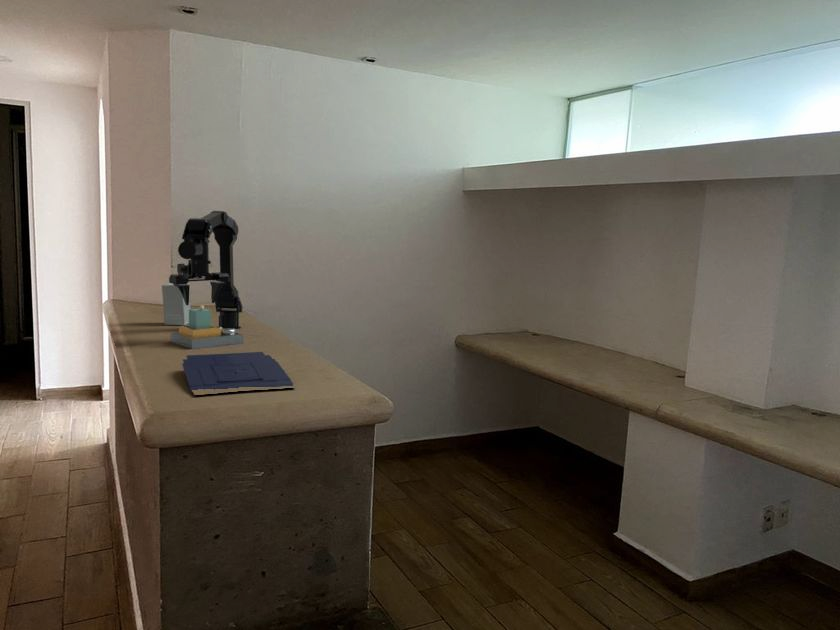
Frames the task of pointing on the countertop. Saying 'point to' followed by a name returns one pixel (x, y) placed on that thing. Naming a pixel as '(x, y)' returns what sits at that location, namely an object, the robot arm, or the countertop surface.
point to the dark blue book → (234, 371)
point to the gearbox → (206, 337)
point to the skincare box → (174, 306)
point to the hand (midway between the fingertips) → (200, 304)
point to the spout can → (199, 318)
